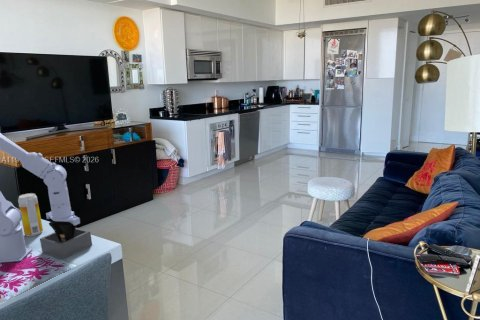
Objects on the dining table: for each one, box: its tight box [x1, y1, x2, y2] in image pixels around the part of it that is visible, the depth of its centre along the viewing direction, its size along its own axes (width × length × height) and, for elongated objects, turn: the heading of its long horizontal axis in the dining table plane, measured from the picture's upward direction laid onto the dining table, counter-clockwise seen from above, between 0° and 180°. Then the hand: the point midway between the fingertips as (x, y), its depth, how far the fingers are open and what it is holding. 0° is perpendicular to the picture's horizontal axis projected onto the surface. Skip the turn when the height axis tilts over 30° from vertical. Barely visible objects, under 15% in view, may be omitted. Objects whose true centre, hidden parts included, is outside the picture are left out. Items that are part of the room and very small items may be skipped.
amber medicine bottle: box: [17, 192, 44, 237], centre depth 135 cm, size 6×6×15 cm
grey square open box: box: [39, 227, 93, 260], centre depth 123 cm, size 11×11×5 cm
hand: (66, 241), depth 123 cm, fingers closed on plunger, 3 cm apart
